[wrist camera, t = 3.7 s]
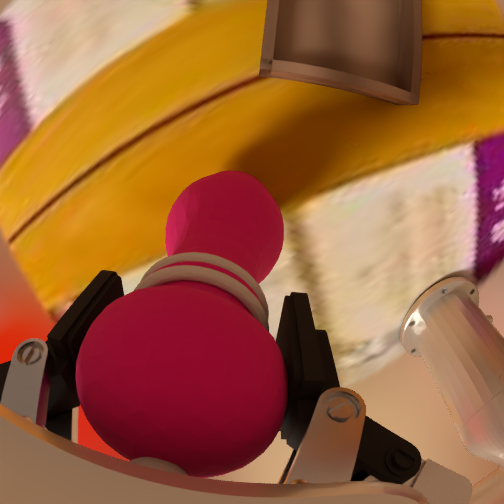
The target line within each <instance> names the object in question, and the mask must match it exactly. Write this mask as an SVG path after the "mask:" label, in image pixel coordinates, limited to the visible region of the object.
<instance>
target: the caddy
mask: <svg viewBox="0 0 504 504" xmlns="http://www.w3.org/2000/svg"><path fill="white" fill-rule="evenodd" d="M421 64H422V9H421V0H268V1H267V10H266V18H265V27H264V36H263V45H262V54H261V63H260V72H259V76H261V77H271V78H279V79H287V80H294V81H300V82H306V83H312V84H317V85H323V86H328V87H332V88H337V89H342V90H346V91H350V92H354V93H358V94H362V95H366V96H370V97H373V98H377V99H380V100H384V101H387V102H390V103H393V104H396V105H418V103H419V93H420V81H421Z"/></svg>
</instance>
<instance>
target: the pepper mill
mask: <svg viewBox="0 0 504 504" xmlns="http://www.w3.org/2000/svg"><path fill="white" fill-rule="evenodd" d="M283 240H284V224H283V218H282V214H281V212H280V209H279V207H278V205H277V203H276V201H275V200H274V198H273V197H272V196H271V195H270V193H269V192H268V191H267V189H266V188H265V186H264V185H263V184H262V183H261V182H260V181H259V180H257V179H256V178H255V177H253V176H251V175H249V174H247V173H244V172H240V171H223V172H219V173H216V174H213V175H210V176H206V177H203V178H201V179H199V180H197V181H195V182H193V183H192V184H190V185H189V186H188V187H187V188H186V189H185V190H184V191H183V192H182V193H181V194H180V195H179V197H178V198H177V200H176V201H175V203H174V204H173V206H172V209H171V211H170V213H169V216H168V219H167V225H166V238H165V244H166V250H167V254H168V257H166V258H164V259H162V260H160V261H158V262H156V263H155V264H154V265H153V266H152V267H151V268H150V269H149V270H148V271H147V272H146V273H145V275H144V276H143V278H142V280H141V282H140V283H139V284H138V285H137V287H136V288H135V290H134V291H133V292H131V293H129V294H127V295H125V296H122V297H120V298H118V299H116V300H115V301H113V302H112V303H111V304H109V305H108V306H107V307H106V308H105V309H104V310H103V311H102V312H101V313H100V314H99V316H98V317H97V318H96V319H95V320H94V321H93V323H92V324H91V326H90V328H89V329H88V331H87V333H86V336H85V338H84V340H83V342H82V344H81V347H80V351H79V354H78V358H77V362H76V386H77V394H78V397H79V401H80V405H81V407H82V409H83V411H84V413H85V415H86V418H87V420H88V421H89V423H90V424H91V426H92V427H93V429H94V430H95V431H96V433H97V434H98V435H99V436H100V437H101V438H102V440H103V441H104V442H105V443H106V444H108V445H109V446H110V447H111V448H113V449H114V450H115V451H116V452H118V453H119V454H120V455H122V456H124V457H125V458H127V459H129V460H130V462H131V463H134V464H138V465H141V466H145V467H149V468H153V469H157V470H162V471H166V472H171V473H176V474H181V475H187V476H192V477H199V478H208V477H213V476H219V475H223V474H226V473H229V472H232V471H235V470H237V469H240V468H243V467H244V466H246V465H247V464H249V463H250V462H252V461H253V460H255V459H256V458H257V457H258V456H260V455H261V454H262V453H263V452H264V451H265V450H266V449H267V448H268V447H269V445H270V444H271V443H272V442H273V440H274V438H275V437H276V435H277V433H278V432H279V430H280V428H281V425H282V422H283V419H284V415H285V411H286V406H287V401H288V375H287V370H286V365H285V362H284V359H283V356H282V353H281V351H280V349H279V347H278V345H277V343H276V342H275V340H274V338H273V336H272V335H271V334H270V333H269V324H268V315H269V311H268V305H267V302H266V298H265V295H264V293H263V291H262V289H261V287H260V286H259V285H258V284H259V283H260V282H261V281H263V280H264V279H265V278H266V276H267V275H268V274H269V273H270V271H271V270H272V268H273V267H274V265H275V263H276V262H277V260H278V258H279V255H280V253H281V250H282V246H283Z"/></svg>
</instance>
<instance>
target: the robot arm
mask: <svg viewBox="0 0 504 504" xmlns="http://www.w3.org/2000/svg"><path fill="white" fill-rule="evenodd" d="M122 296H124V292H123V286H122V280H121V277H120V276H118V274H117V273H116V272H114V271H107V270H102V271H100V273H99V274H98V275H97V276H96V277H95V278H94V279H93V280H92V282H91V283H90V284H89V285H88V286H87V287H86V288H85V290H84V291H83V292H82V293H81V294H80V296H79V297H78V298H77V299H76V300H75V301H74V303H73V304H72V305H71V306H70V308H69V309H68V310H67V311H66V312H65V314H64V315H63V316H62V317H61V319H60V320H59V321H58V323H57V324H56V325H55V326H54V328H53V329H52V330H51V332H50V333H49V334H48V336H47V337H48V340H47V341H46V342H44V341H42V340H40V339H36V338H33V339H28V340H25V341H23V342H22V343H20V344H19V345H18V347H17V348H16V349H15V351H14V354H13V357H12V360H11V361H8V362H5V363H2V364H0V504H504V338H503V337H502V335H501V334H500V333H499V331H498V330H497V329H496V328H495V327H494V325H493V324H492V321H493V318H492V316H491V315H487V316H486V315H485V314H484V313H483V312H482V311H481V309H480V308H479V307H478V303H479V293H478V290H477V288H476V286H475V285H474V284H473V283H472V282H471V281H470V280H469V279H467V278H465V277H451V278H448V279H445V280H443V281H441V282H439V283H437V284H435V285H434V286H432V287H431V288H430V289H428V290H427V291H426V292H425V293H424V294H423V295H422V296H420V297H419V299H418V300H417V301H416V302H415V303H414V304H413V306H412V307H411V308H410V310H409V311H408V313H407V315H406V317H405V319H404V320H403V323H402V326H401V330H400V341H401V344H402V346H403V348H404V349H405V351H406V352H407V353H408V354H409V355H412V356H415V357H422V358H423V360H424V361H425V363H426V365H427V367H428V369H429V371H430V373H431V375H432V377H433V379H434V381H435V383H436V385H437V387H438V389H439V391H440V393H441V395H442V397H443V400H444V402H445V404H446V406H447V408H448V410H449V413H450V415H451V417H452V419H453V422H454V424H455V426H456V428H457V431H458V433H459V436H460V438H461V441H462V443H463V444H464V447H465V448H466V449H467V451H469V452H470V453H471V454H472V455H474V456H476V457H478V458H482V459H485V460H489V461H492V462H495V463H497V464H498V465H499V466H498V468H497V469H496V470H494V471H493V472H492V473H490V474H489V475H488V476H487V477H485V478H484V479H482V480H481V481H479V482H477V483H476V484H474V485H473V486H472V484H471V483H470V481H469V480H468V479H467V478H466V477H464V476H462V475H460V474H457V473H456V472H453V471H451V470H449V469H447V468H445V467H443V466H441V465H439V464H437V463H436V462H433V461H432V460H430V459H427V460H423V459H422V458H421V455H420V452H419V451H418V449H417V448H416V447H415V446H414V445H413V444H411V443H409V442H408V441H406V440H405V439H403V438H401V437H399V436H398V435H396V434H394V433H393V432H391V431H390V430H388V429H386V428H385V427H383V426H381V425H380V424H378V423H377V422H375V421H373V420H372V419H370V418H369V417H367V416H366V405H365V403H364V400H363V399H362V398H361V396H360V395H359V394H357V393H356V392H355V391H353V390H350V389H348V388H342V387H340V385H339V380H338V376H337V372H336V368H335V363H334V359H333V355H332V351H331V347H330V343H329V339H328V335H327V332H326V331H325V330H315V326H314V321H313V317H312V312H311V308H310V303H309V299H308V295H307V293H298V292H291V294H290V296H285V298H284V303H283V308H282V313H281V318H280V323H279V328H278V333H277V338H276V343H277V345H278V347H279V349H280V351H281V353H282V356H283V359H284V362H285V365H286V370H287V375H288V401H287V406H286V411H285V415H284V419H283V422H282V425H281V428H280V430H279V431H281V439H287V444H288V445H289V446H290V447H292V448H293V450H292V452H291V455H290V457H289V459H288V462H287V464H286V466H285V468H284V470H283V473H282V475H281V477H280V479H279V482H278V483H277V484H265V483H243V482H231V481H221V480H212V479H205V478H199V477H192V476H187V475H181V474H176V473H171V472H166V471H162V470H157V469H153V468H149V467H145V466H141V465H138V464H134V463H131V462H127V461H124V460H121V459H118V458H114V457H111V456H108V455H106V454H103V453H100V452H97V451H95V450H92V449H89V448H87V447H84V446H82V445H79V444H78V406H79V405H80V401H79V397H78V394H77V386H76V362H77V358H78V354H79V351H80V347H81V344H82V342H83V340H84V338H85V336H86V333H87V331H88V329H89V328H90V326H91V324H92V323H93V321H94V320H95V319H96V318H97V317H98V316H99V314H100V313H101V312H102V311H103V310H104V309H105V308H106V307H107V306H108V305H109V304H111V303H112V302H113V301H115V300H116V299H118V298H120V297H122Z"/></svg>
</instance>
